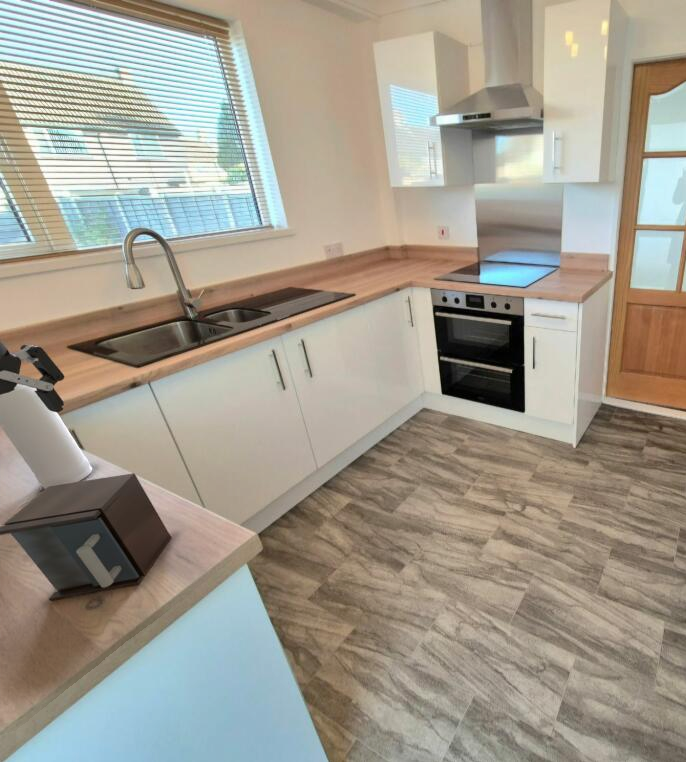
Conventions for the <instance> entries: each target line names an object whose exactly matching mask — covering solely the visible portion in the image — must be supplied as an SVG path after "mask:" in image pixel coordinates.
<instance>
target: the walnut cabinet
mask: <svg viewBox="0 0 686 762" xmlns="http://www.w3.org/2000/svg"><path fill="white" fill-rule="evenodd" d="M96 518H101V519H102V521H103V522H104V524H105V525H106V527H107V528H108V530H109V531H110V533H111V534H112V536H113V537H114V539H115V540H116V542H117V543H118V545H119V546H120V548H121V549H122V551H123V552H124V554H125V555H126V557H127V558H128V560H129V561H130V563H131V564H132V566H133V567H134V569H135V570H136V572H137V574H138V575H139V577H138V578H136V579H130V580H125V581H120V582H114V583H112V584H111V585H109V586H108V587H104V588H103V587H101V586H100V585H98V586H93V584H92V583H91V581H90V580H89V579H88V577H87V576H86V575H85V573H84V572H83V571H82V569H81V568H80V567H79V565H78V564H77V563H76V561H75V560H74V559H73V557H72V556H71V555H70V553H69V552H68V550H67V549H66V548H65V546H64V545H63V544H62V542H61V541H60V540H59V538H58V537H57V536H56V534H55V533H54V532H53V530H52V529H51V526H57V525H63V524H69V523H75V522H81V521H87V520H93V519H96ZM9 534H11V536H12V537H13V538H14V540H15V541H16V542H17V543H18V544H19V546H20V547H21V549H23V550H24V552H25V553H26V554H27V556H28V557H29V558H30V559H31V561H32V562H33V563H34V564H35V566H36V567H37V568H38V569H39V570H40V572H41V573H42V574H43V575H44V577H45V578H46V579H47V580H48V581H49V583H50V584H51V586H52V587H53V588H54V589H55V590H56V591H54V592H53V593H52V594H51V595H50V596H49V597H48V601H49V602H54V601H60V600H65V599H70V598H71V599H72V598H76V597H81V596H87V595H92V594H98V593H103V592H107V591H108V592H109V591H113V590H120V589H124V588H129V587H130V588H131V587H134V586H139V585H140V584H141V583H142V581H143V580H144V577H146V576H147V574H148V573H149V571H150V570H151V568H152V567H153V566H154V564H155V563H156V562H157V560H158V558H159V557H160V555H161V554H162V553H163V551H164V550H165V548H166V547H167V545H168V544H169V543H170V540H171V539H172V536H171V534H170V533H169V531H168V529H167V528H166V525H165V524H164V522H163V520H162V519H161V517H160V515H159V514H158V512H157V510H156V508H155V506H154V505H153V503H152V501H151V500H150V498H149V496H148V494H147V492H146V491H145V489H144V487H143V486H142V484H141V482H140V481H139V479H138V477H137V475H136V473H134V472H133V473H126V474H120V475H113V476H106V477H100V478H93V479H86V480H81V481H79V482H74V483H67V484H61V485H54V486H49V487H47V488H46V489H45V488H44V490H42V491H41V492H40V493H39V494H38V495H37V496H35V497H34V498H33V499H31V500H30V501H29V502H28V503H27V504H26V505H24V506H23V507H22V508H21V509H20V510H19V511H17V512H16V513H15V514H14V515H13V516H11V517H10V518H9V519H8V520H6V521H5V522H4V523H3V525H0V536H2V535H9Z"/></svg>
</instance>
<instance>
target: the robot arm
mask: <svg viewBox="0 0 686 762" xmlns="http://www.w3.org/2000/svg"><path fill="white" fill-rule="evenodd" d="M22 361H24V362H26V363H30V364H32V366H34V368H35V369H36V370H37V371H38V372H39V374H40V375H41V377H40V378H39V379H37V378H33V377H29V376H27V375H23V374H20V373H21V366H22ZM64 379H65V374H64V373H63V372H62V371H61V369H60V368H59V367H58V365H56V363H55V362H54V360H53V359H52V358H51V357H50V356H49V355H48V353H47V352H46V350H44V348H42V347H41V346H36V345H31V344H22V345H21V346H20V349H19V350H16V351H14V352H13V353H12V352H10V351H9V350H8V347H7V346H6V345H5V344H4V342H3V341H2V339H0V395H1V394H5V393H9V392H11V391H13V390H15V389H14V388H15V387H16V385H17V384H21V385H25V386H28V387H32V388H36V389H37V390H36V391H35V393H36V394H37V395H38V397H39V398H40V399H41V401H42V402H43V403H44V404H45V406H46V407H47V408H48V409H49V410H50V411H53V412H57V413H58V414H59V413H61V412H62V411H64V408H63V407H64V406H65V405H64V404H65V403H64V401H63V399H62V397H60V395H59V393H58V392H57V390H55V385H56V384H57V383H58V382H61V381H63V380H64Z"/></svg>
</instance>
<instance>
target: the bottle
mask: <svg viewBox="0 0 686 762" xmlns="http://www.w3.org/2000/svg"><path fill="white" fill-rule="evenodd" d="M14 389H15V390H13V391H11V392H9V393H5V394H1V395H0V429H2V431H3V432H4V434H5V435H6V436H7V438H8V439H9V441H10V442H11V444H12V445H13V446H14V448H15V449H16V451H17V452H18V453H19V455H20V456H21V458H22V459H23V460H24V462H25V464H26V465H27V466H28V468H29V469H30V470H31V472H32V473H33V474H34V476H35V478H36V480H37V482H38V483H39V484H40V485H41V486H42V487H43V489H44V490H45V489H46V488H47V487H49V486H54V485H61V484H67V483H74V482H80V481H83V480H84V479H85V478H87V477H88V476H89V475H90V474H91V473H92V471H93V467H92V466H91V463H90V461H89V460H88V458H87V457H86V456H85V455H84V453H83V451H82V450H81V448H80V447H79V444H77V442H76V440H75V439H74V437H73V435H72V434H71V433H70V431H69V429H68V428H67V426H66V425H65V423H64V421H63V420H62V418H61V416H60V415H59V412H58V413H57V412H53V411H50V410H49V409H48V408H47V407H46V406H45V404H44V403H43V402H42V401H41V399H40V398H39V397H38V395H37V394H36V393H35V391H36V390H37V389H36V388H32V387H28V386H25V385H21V384H17V385H16V387H15V388H14Z"/></svg>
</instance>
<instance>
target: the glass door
mask: <svg viewBox="0 0 686 762" xmlns="http://www.w3.org/2000/svg"><path fill="white" fill-rule="evenodd" d="M51 529H52V530H53V532H54V533H55V534H56V536H57V537H58V538H59V540H60V541H61V542H62V544H63V545H64V546H65V548H66V549H67V550H68V552H69V553H70V555H71V556H72V557H73V559H74V560H75V561H76V563H77V564H78V565H79V567H80V568H81V569H82V571H83V572H84V573H85V575H86V576H87V577H88V579H89V580H90V581H91V583H92V584H93V586H98V585H100V586H101V587H103V588H104V587H108V586H109V585H111V584H112V583H114V582H120V581H125V580H130V579H136V578H138V577H139V575H138V574H137V572H136V570H135V569H134V567H133V566H132V564H131V563H130V561H129V560H128V558H127V557H126V555H125V554H124V552H123V551H122V549H121V548H120V546H119V545H118V543H117V542H116V540H115V539H114V537H113V536H112V534H111V533H110V531H109V530H108V528H107V527H106V525H105V524H104V522H103V521H102V519H101V518H96V519H93V520H87V521H81V522H75V523H69V524H63V525H57V526H51Z"/></svg>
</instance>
